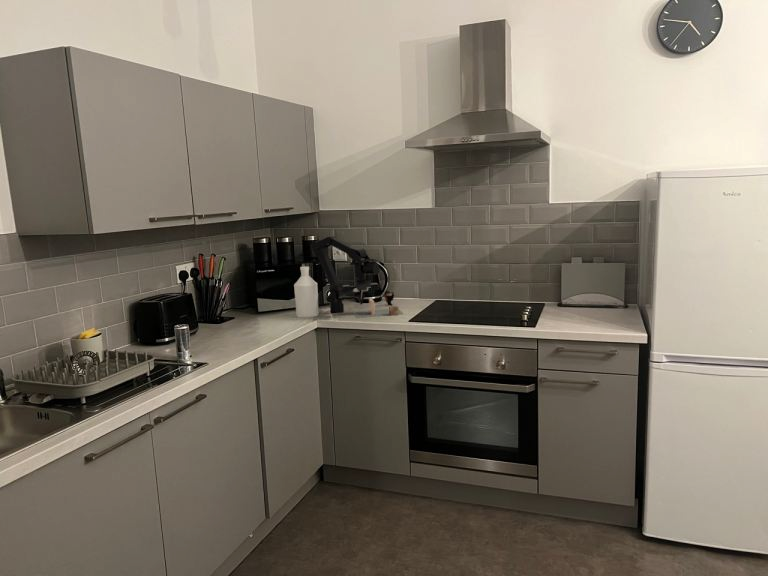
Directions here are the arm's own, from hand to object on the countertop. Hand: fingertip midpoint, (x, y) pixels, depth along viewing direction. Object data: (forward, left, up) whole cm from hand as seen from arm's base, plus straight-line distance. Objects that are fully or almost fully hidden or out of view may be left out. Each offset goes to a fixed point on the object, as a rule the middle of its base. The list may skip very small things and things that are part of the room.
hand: (361, 304), depth 306 cm
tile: (+5, 0, -5) cm, 7 cm away
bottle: (-27, +11, -6) cm, 30 cm away
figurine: (+18, +17, -6) cm, 26 cm away
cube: (+15, -7, -5) cm, 17 cm away
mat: (+8, 0, -6) cm, 10 cm away
